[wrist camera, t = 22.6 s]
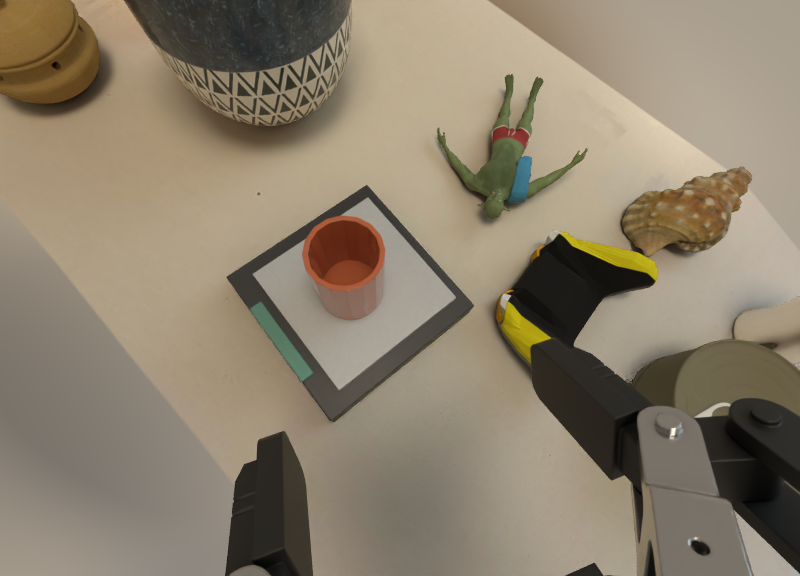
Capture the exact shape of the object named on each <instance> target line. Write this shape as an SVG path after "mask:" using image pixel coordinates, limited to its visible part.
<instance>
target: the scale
mask: <svg viewBox="0 0 800 576" xmlns="http://www.w3.org/2000/svg"><path fill="white" fill-rule="evenodd" d="M342 215H343V216H352V217H357V218H360V219H362V220H364V221H366V222H368V223H370V224H371V225H372V226H373V227H374V228H375V229H376V230H377V231H378V232H379V234H380V235H381V237H382V240H383V243H384V246H385V277H384V292H383V297H382V300H381V302H380V304H379V305H378V307H377V308H376V309H375V310H374V311H373V312H372V313H371V314H369V315H368V316H366V317H363V318H361V319H356V320H344V319H340V318H337V317H335V316H333V315H332V314H330V313H329V312H328V311H327V310H326V309H325V308H324V307H323V305H322V303H321V302H320V300H319V298H318V296H317V294H316V292H315V289H314V287H313V285H312V283H311V281H310V278H309V276H308V274H307V272H306V270H305V266H304V262H303V257H302V252H303V247H304V242H305V239H306V238H307V236H308V235H309V234H310V232H311V231H312V229H313V228H314V227H315V226H317V225H318V224H320V223H321V222H323V221H324V220H326V219H329V218H333V217H337V216H342ZM227 279H228V280H229V282H230V283H231V284H232V286H233V287H234V288H235V290H236V291H237V293H238V294H239V295H240V297H241V298H242V300H243V301H244V302H245V304H246V305H247V306H248V308H249V310H250V311H251V313H252V314H253V315H254V317H255V318H256V320H257V321H258V322H259V324H260V325H261V326H262V328H263V329H264V331H265V332H266V333H267V335H268V336H269V338H270V339H271V340H272V342H273V343H274V344H275V346H276V347H277V349H278V350H279V351H280V353H281V354H282V356H283V357H284V358H285V360H286V361H287V362H288V364H289V365H290V367H291V368H292V369H293V371H294V372H295V373H296V375H297V376H298V378H299V379H300V380H301V382H302V383H303V384H304V385H305V387H306V388H307V389H308V391H309V392H310V394H311V395H312V396H313V398H314V399H315V400H316V402H317V403H318V405H319V406H320V407H321V409H322V410H323V412H324V413H325V414H326V416H327V417H328V418H329V420H330V421H332V422H335V421H336V420H337V419H338V418H340V417H341V416H342V415H343V414H345V413H346V412H347V411H348V410H349V409H351V408H352V407H353V406H354V405H356V404H357V403H358V402H359V401H361V400H362V399H363V398H364V397H365V396H367V395H368V394H369V393H370V392H372V391H373V390H374V389H375V388H377V387H378V386H379V385H380V384H381V383H383V382H384V381H385V380H386V379H388V378H389V377H390V376H391V375H393V374H394V373H395V372H396V371H397V370H399V369H400V368H401V367H402V366H404V365H405V364H406V363H407V362H409V361H410V360H411V359H412V358H413V357H415V356H416V355H417V354H418V353H420V352H421V351H422V350H423V349H425V348H426V347H427V346H428V345H430V344H431V343H432V342H433V341H434V340H436V339H437V338H438V337H439V336H441V335H442V334H443V333H444V332H446V331H447V330H448V329H449V328H450V327H452V326H453V325H454V324H455V323H457V322H458V321H459V320H460V319H462V318H463V317H464V316H465V315H466V314H468V313H469V312H470V310H471V309H472V308H473V306H474V305H473V304H472V302H471V301H470V300H469V299H468V298H467V297H466V296H465V295H464V293H463V292H462V291H461V290H460V289H459V288H458V287H457V286H456V284H455V283H454V282H453V281H452V280H451V279H450V278H449V277H448V276H447V274H446V273H445V272H444V271H443V270H442V269H441V268H440V267H439V265H438V264H437V263H436V262H435V261H434V260H433V259H432V258H431V256H430V255H429V254H428V253H427V252H426V251H425V250H424V249H423V247H422V246H421V245H420V244H419V243H418V242H417V241H416V240H415V238H414V237H413V236H412V235H411V234H410V233H409V232H408V231H407V229H406V228H405V227H404V226H403V225H402V224H401V223H400V222H399V220H398V219H397V218H396V217H395V216H394V215H393V214H392V213H391V211H390V210H389V209H388V208H387V207H386V206H385V205H384V204H383V202H382V201H381V200H380V199H379V198H378V197H377V196H376V195H375V193H374V192H373V191H372V190H371V189H370V188H369V187H368V186H367V185H366V186H365V187H363V188H361V189H360V190H358V191H357V192H355V193H354V194H352V195H351V196H349V197H348V198H346V199H345V200H343V201H342V202H340V203H339V204H337V205H336V206H334V207H333V208H331V209H329V210H328V211H326V212H325V213H323V214H322V215H320V216H319V217H317V218H316V219H314V220H313V221H311V222H310V223H308V224H307V225H305V226H304V227H302V228H301V229H299V230H297V231H296V232H294V233H293V234H291V235H290V236H288V237H287V238H285V239H284V240H282V241H281V242H279V243H278V244H276V245H275V246H273V247H272V248H270V249H269V250H267V251H265V252H264V253H262V254H261V255H259V256H258V257H256V258H255V259H253V260H252V261H250V262H249V263H247V264H246V265H244V266H243V267H241V268H240V269H238V270H237V271H235V272H233V273H232V274H230V275H229V276H227Z"/></svg>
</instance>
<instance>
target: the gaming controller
mask: <svg viewBox="0 0 800 576" xmlns="http://www.w3.org/2000/svg"><path fill="white" fill-rule="evenodd" d="M657 278H658V271H657V268H656V264H655V261H653V260H651V259H649V258H647V257H645V256H644V255H642V254H640V253H638V252H633V251H629V250H624V249H620V248H615V247H610V246H606V245H601V244H597V243H592V242H588V241H583V240H579V239H575V238H574V237H572V236H571V235H570V234H568V233H566V232H560V231H557V230H553V231H552V232H551V233H550V234H549V235H548V237H547V240H546V243H545V244H544V245H542V246H541V247H540V248H538V249H537V250H536V251H535V252H534V254H533V255H532V256H531V264H530V265H529V266H528V268H527V269H526V270H525V272H524V273H523V274H522V276H521V277H520V278H519V280H518V281H517V282H516V284H515V285H514V286H513V288H512V289H511V290H509V291H506V292H504V293H503V294H502V295H501V296H500V298H499V301H498V306H497V313H496V319H497V321H498V323H499V329H500V331H501V333H502V335H503V336H504V337H505V339H506V340H507V342H508V343H509V344H510V346H511V347H512V348H513V350H514V351H515V353H516V354H517V355H518V356H519V357H520V358H521V359H522V360H523V361H524V362H525V363H526V364H527V365H528V366H529V367H530V368H531V354H530V348H531V346H532V345H533V344H536V343H539V342H542V341H545V340H547V339H550V338H556V339H558V340H559V341H560V342H561V343H562V344H564V345H565V346H566V347H567V348H568V349H571V348H574V341H575V339H576V337H577V336H578V334H579V333H580V331H581V330H582V328H583V327H584V325H585V324H586V322H587V321H588V319H589V318H590V316H591V315H592V313H593V312H594V310H595V309H596V307H597V306H598V304H599V303H600V302H601V301H602V299H603V298H605V297H608V296H612V295H616V294H620V293H624V292H629V291H634V290H639V289H644V288H649V287H650V286H652V285H653V284H654V283H655V282H656V281H657Z"/></svg>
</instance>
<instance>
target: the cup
mask: <svg viewBox="0 0 800 576" xmlns="http://www.w3.org/2000/svg"><path fill="white" fill-rule="evenodd" d="M302 257H303V262H304V266H305V270H306V272H307V274H308V276H309V278H310V281H311V283H312V285H313V287H314V289H315V292H316V294H317V296H318V298H319V300H320V302H321V303H322V305H323V307H324V308H325V309H326V310H327V311H328V312H329V313H330V314H332V315H333V316H335V317H337V318H340V319H344V320H356V319H361V318H363V317H366V316H368V315H369V314H371V313H372V312H373V311H374V310H375V309H376V308H377V307H378V305H379V304H380V302H381V300H382V297H383V292H384V277H385V246H384V243H383V240H382V237H381V235H380V234H379V232H378V231H377V230H376V229H375V228H374V227H373V226H372V225H371V224H370V223H368V222H366V221H364V220H362V219H360V218H357V217H352V216H343V215H342V216H337V217H333V218H329V219H326V220H324V221H323V222H321V223H320V224H318V225H317V226H315V227H314V228H313V229H312V231H311V232H310V234H309V235H308V236H307V238H306V239H305V242H304V247H303V252H302Z"/></svg>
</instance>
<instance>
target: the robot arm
mask: <svg viewBox="0 0 800 576" xmlns="http://www.w3.org/2000/svg"><path fill="white" fill-rule="evenodd" d="M530 354H531V370H532V383H533V387H534V389H535V392H536V394H537V396H538V397H539V399H540V400H541V401H542V402H543V404H544V405H545V406H546V407H547V408H548V409H549V410H550V412H551V413H552V414H553V415H554V416H555V417H556V418H557V419H558V421H559V422H560V423H561V424H562V425H563V426H564V427H565V429H566V430H567V431H568V432H569V433H570V434H571V435H572V437H573V438H574V439H575V440H576V441H577V442H578V443H579V445H580V446H581V447H582V448H583V449H584V450H585V451H586V452H587V454H588V455H589V456H590V457H591V458H592V459H593V460H594V462H595V463H596V464H597V465H598V466H599V467H600V468H601V470H602V471H603V472H604V473H605V474H606V475H607V476H608V478H609V479H610V480H614V479H616V478H619V477H621V476H623V475H625V476H626V477H627V478H628V479H629V480H630V481H631V497H632V508H633V519H634V530H635V541H636V552H637V576H754V575H753V572H752V569H751V565H750V562H749V559H748V555H747V552H746V549H745V545H744V542H743V539H742V535H741V532H740V529H739V525H738V522H737V519H736V515H735V512H734V510H735V511H736V512H737V513H738V514H739V515H740V516H741V517H742V518H743V519H744V520H745V521H746V522H747V523H748V524H749V525H750V526H751V527H752V528H753V529H754V530H755V531H756V532H757V533H758V534H759V535H760V536H761V537H762V538H763V539H765V540H766V541H767V542H768V543H769V544H770V545H771V546H772V547H773V548H774V549H775V550H776V551H777V552H778V553H779V554H780V555H781V556H782V557H783V558H784V559H785V560H786V561H787V562H788V563H789V564H790V565H791V566H792V567H793V568H794V569H795V570H797V571H798V572H799V573H800V494H799V493H797V492H796V491H795V490H794V489H793V488H791V487H790V486H789V485H788V484H786V483H785V481H786V482H788V483H789V484H790V485H791V486H792V487H794V488H795V489H796V490H797V491H799V492H800V416H798V415H796V414H795V413H793V412H792V411H790V410H789V409H787V408H785V407H784V406H782V405H779V404H777V403H774V402H772V401H768V400H764V399H759V398H742V399H738V400H736V401H734V402H733V403H732V404H731V405H730V408H729V412H728V415H724V416H711V417H699V418H692V417H691V416H690V415H688V414H687V413H685V412H683V411H681V410H679V409H676V408H673V407H668V406H656V405H654V404H653V403H652V402H650V401H649V400H648V399H647V398H645V397H644V396H643V395H642V394H641V393H639V392H638V391H637V390H636V389H634V388H633V387H632V386H631V385H629V384H628V383H627V382H626V381H624V380H623V379H622V378H621V377H619V376H618V375H617V374H616V375H615V374H614V372H613V371H612V370H611V369H610V368H608V367H607V366H604V364H603V363H602V362H601V361H600V360H598V359H597V358H596V357H595V356H593V355H592V354H591V353H588V352H586V351H583V350H581V349H578V348H576V347H574V348H571V349H568V348H567V347H566V346H565V345H564V344H562V343H561V342H560V341H559V340H558V339H556V338H550V339H547V340H545V341H542V342H539V343H536V344H533V345H532V346H531V348H530ZM233 500H234V503H233V508H232V518H231V527H230V536H229V547H228V556H227V565H226V573H225V576H313V569H312V556H311V543H310V531H309V518H308V505H307V492H306V483H305V478H304V474H303V470H302V467H301V465H300V462H299V460H298V458H297V456H296V454H295V451H294V449H293V447H292V445H291V443H290V441H289V438H288V436H287V434H286V433H285V431H282V432H279V433H276V434H274V435H271V436H268V437H265V438H262V439H259V440H258V444H257V460H255V461H252V462H249V463H247V464H244V466H243V468H242V470H241V472H240V474H239V476H238V477H237V479H236V481H235V489H234V498H233ZM566 576H603V574H602V573H601V571H600V570H599V568H598V567H597V566H596V564H595V563H593V564H590V565H588V566H586V567H584V568H581V569H579V570H577V571H575V572H573V573H570V574H568V575H566ZM607 576H611V575H607Z"/></svg>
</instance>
